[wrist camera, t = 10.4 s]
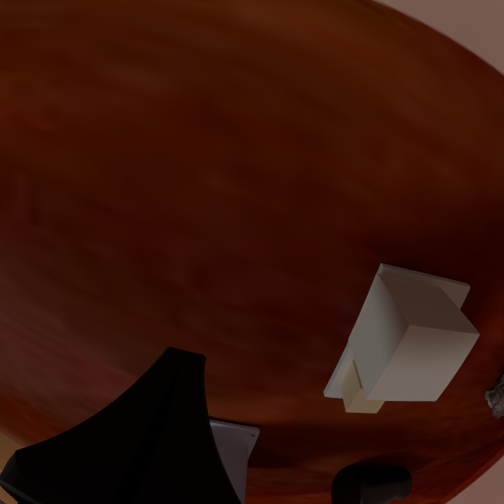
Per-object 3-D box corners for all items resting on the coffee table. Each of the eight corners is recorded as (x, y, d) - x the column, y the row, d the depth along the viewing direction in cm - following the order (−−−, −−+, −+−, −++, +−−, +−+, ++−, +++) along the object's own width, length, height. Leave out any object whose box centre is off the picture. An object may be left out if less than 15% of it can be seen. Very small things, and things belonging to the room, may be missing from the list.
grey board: (402, 396, 24) (413, 425, 20) (323, 391, 24) (328, 424, 20) (467, 283, 19) (491, 307, 16) (380, 263, 19) (400, 289, 16)
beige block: (409, 347, 20) (435, 400, 15) (348, 339, 20) (366, 399, 15) (440, 287, 18) (479, 334, 13) (376, 272, 18) (409, 325, 13)
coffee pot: (355, 457, 28) (409, 448, 29) (295, 496, 37) (342, 491, 38) (368, 514, 21) (425, 497, 23) (300, 536, 30) (349, 528, 32)
